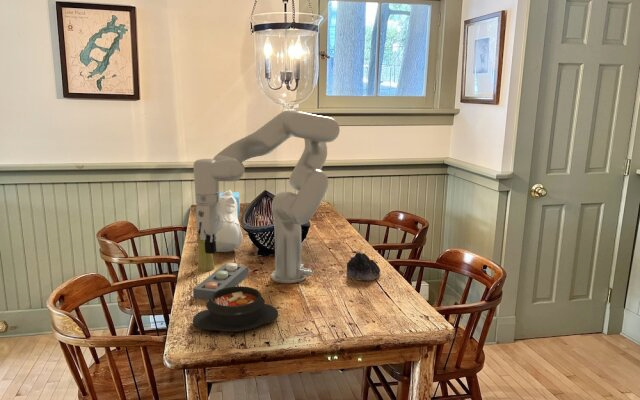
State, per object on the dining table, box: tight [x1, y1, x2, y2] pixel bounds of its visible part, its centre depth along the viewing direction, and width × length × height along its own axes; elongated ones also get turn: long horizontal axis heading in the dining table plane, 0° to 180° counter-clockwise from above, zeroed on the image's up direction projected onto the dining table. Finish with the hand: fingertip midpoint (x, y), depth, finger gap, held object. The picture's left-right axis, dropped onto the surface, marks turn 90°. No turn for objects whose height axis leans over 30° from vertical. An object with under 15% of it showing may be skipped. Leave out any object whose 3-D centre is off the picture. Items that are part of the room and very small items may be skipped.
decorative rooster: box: [214, 189, 243, 253], centre depth 214 cm, size 25×16×25 cm
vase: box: [196, 232, 215, 272], centre depth 190 cm, size 6×6×14 cm
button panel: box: [192, 263, 249, 302], centre depth 175 cm, size 9×24×4 cm, turn 165°
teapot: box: [219, 190, 241, 218], centre depth 262 cm, size 22×11×14 cm, turn 8°
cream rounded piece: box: [225, 262, 238, 272], centre depth 182 cm, size 4×4×3 cm
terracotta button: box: [205, 282, 218, 289], centre depth 167 cm, size 4×4×3 cm
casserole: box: [192, 285, 279, 333], centre depth 149 cm, size 25×19×8 cm
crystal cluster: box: [346, 251, 381, 281], centre depth 185 cm, size 13×14×10 cm
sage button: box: [216, 271, 228, 280], centre depth 175 cm, size 4×4×3 cm
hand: (210, 252), depth 165 cm, fingers closed
